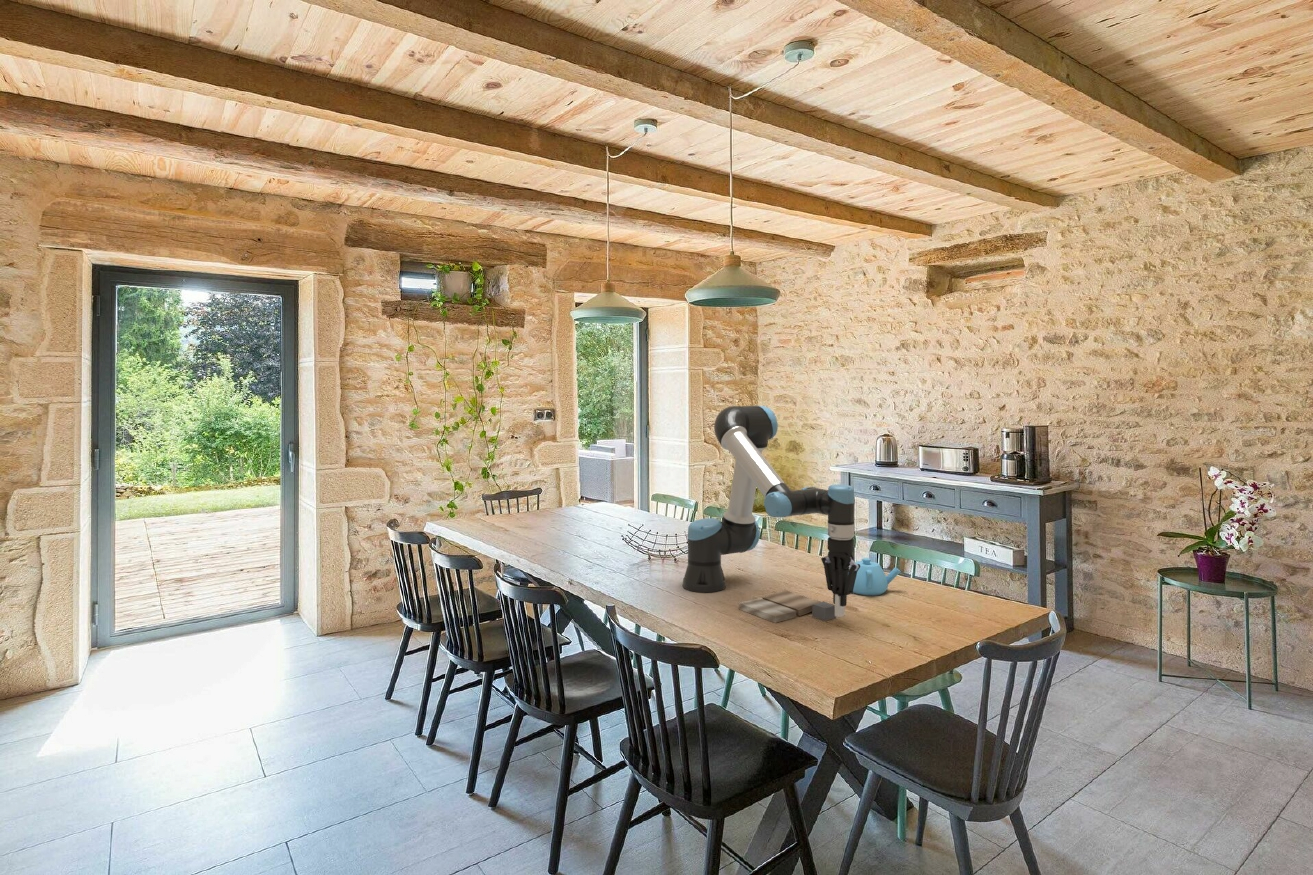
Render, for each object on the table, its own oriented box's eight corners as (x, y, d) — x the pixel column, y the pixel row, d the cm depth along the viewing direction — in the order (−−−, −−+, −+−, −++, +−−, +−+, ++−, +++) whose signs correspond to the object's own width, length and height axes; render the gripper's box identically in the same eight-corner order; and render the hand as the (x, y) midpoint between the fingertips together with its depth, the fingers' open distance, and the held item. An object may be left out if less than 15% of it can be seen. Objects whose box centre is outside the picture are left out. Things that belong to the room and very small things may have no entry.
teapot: (876, 600, 230) (877, 567, 229) (832, 589, 243) (833, 557, 242) (901, 592, 240) (902, 559, 239) (858, 581, 253) (858, 551, 252)
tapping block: (812, 617, 214) (812, 604, 213) (823, 613, 217) (823, 601, 216) (824, 621, 210) (825, 608, 209) (836, 618, 212) (836, 605, 212)
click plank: (762, 603, 227) (762, 597, 226) (784, 595, 232) (784, 589, 232) (799, 616, 214) (798, 609, 213) (821, 607, 219) (821, 601, 219)
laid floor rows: (738, 609, 221) (738, 602, 221) (759, 604, 226) (759, 597, 226) (774, 622, 208) (775, 616, 208) (796, 617, 213) (796, 610, 213)
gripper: (815, 535, 210) (814, 612, 211) (849, 542, 199) (848, 624, 200) (832, 532, 214) (831, 608, 215) (866, 539, 203) (865, 619, 205)
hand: (839, 615), depth 208 cm, fingers closed
